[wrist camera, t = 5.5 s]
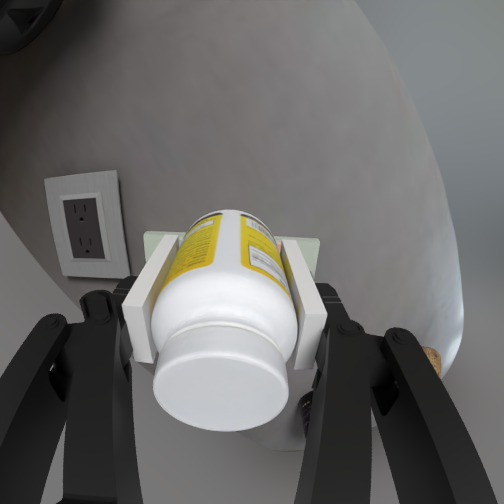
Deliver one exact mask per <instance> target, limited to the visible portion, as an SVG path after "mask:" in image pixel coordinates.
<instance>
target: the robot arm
mask: <svg viewBox="0 0 504 504" xmlns="http://www.w3.org/2000/svg"><path fill="white" fill-rule="evenodd" d="M61 1H62V0H0V54H11V53H14V52H16V51H18V50H20V49H22V48H23V47H24V46H26V45H27V44H28V43H30V42H31V41H32V40H33V39H34V38H35V37H36V36H37V35H38V34H39V33H40V32H41V31H42V30H43V28H44V27H45V26H46V25H47V24H48V22H49V21H50V19H51V18H52V17H53V15H54V14H55V12H56V10H57V9H58V7H59V5H60V3H61ZM178 249H179V235H164V237H163V238H162V240H161V241H160V243H159V244H158V246H157V247H156V249H155V251H154V252H153V254H152V255H151V257H150V259H149V260H148V262H147V263H146V265H145V267H144V268H143V270H142V271H141V273H140V275H139V276H127V277H126V278H124V279H123V280H121V281H120V282H119V284H118V285H117V287H116V289H115V290H114V291H113V294H112V293H111V292H109V291H106V290H95V291H91V292H89V293H86V294H85V295H84V296H82V297H81V299H80V305H81V308H82V312H83V315H84V318H85V321H84V322H82V323H72V324H68V323H67V321H66V318H65V317H64V316H63V315H61V314H49V315H46V316H45V317H43V318H42V319H41V320H40V321H39V322H38V323H37V324H36V326H35V327H34V328H33V330H32V331H31V333H30V334H29V335H28V337H27V338H26V340H25V341H24V342H23V344H22V345H21V347H20V348H19V350H18V351H17V353H16V354H15V356H14V357H13V359H12V360H11V362H10V363H9V365H8V366H7V368H6V370H5V371H4V373H3V375H2V376H1V378H0V504H40V502H41V498H42V494H43V491H44V487H45V483H46V479H47V476H48V473H49V470H50V466H51V463H52V460H53V457H54V454H55V450H56V448H57V444H58V442H59V439H60V436H61V433H62V431H63V428H64V425H65V422H66V431H65V443H64V462H63V498H62V500H61V501H60V502H58V503H56V504H143V499H142V494H141V487H140V480H139V473H138V466H137V456H136V447H135V435H134V422H133V404H132V368H131V364H130V360H129V359H130V357H131V354H132V352H133V355H134V358H135V361H138V362H146V363H154V359H155V356H156V353H157V349H156V346H155V343H154V340H153V336H152V331H151V319H152V313H153V309H154V306H155V303H156V300H157V298H158V295H159V293H160V291H161V288H162V286H163V284H164V282H165V279H166V277H167V275H168V272H169V270H170V268H171V265H172V263H173V261H174V259H175V256H176V254H177V252H178ZM280 258H281V261H282V265H283V268H284V272H285V276H286V279H287V283H288V287H289V290H290V294H291V298H292V301H293V305H294V309H295V312H296V318H297V326H298V330H297V340H296V344H295V347H294V350H293V352H292V354H291V358H292V363H293V368H294V370H300V369H313V366H314V363H315V359H316V362H317V366H318V369H317V372H316V375H315V379H314V382H313V385H312V388H314V391H313V399H312V406H311V413H310V420H309V426H308V433H307V439H306V445H305V451H304V457H303V462H302V468H301V472H300V478H299V483H298V488H297V492H296V497H295V501H294V504H370V491H371V490H370V489H371V462H372V458H371V457H372V432H371V431H372V430H371V429H372V428H371V408H372V411H373V414H374V417H375V420H376V423H377V426H378V429H379V433H380V436H381V439H382V442H383V446H384V449H385V452H386V456H387V459H388V462H389V466H390V469H391V473H392V477H393V480H394V484H395V488H396V491H397V495H398V499H399V503H400V504H498V503H497V500H496V498H495V495H494V492H493V489H492V487H491V484H490V481H489V479H488V477H487V474H486V472H485V469H484V467H483V464H482V462H481V459H480V457H479V455H478V453H477V451H476V448H475V446H474V444H473V442H472V440H471V437H470V435H469V433H468V431H467V429H466V427H465V425H464V423H463V421H462V419H461V417H460V415H459V413H458V411H457V409H456V407H455V406H454V403H453V402H452V399H451V398H450V396H449V394H448V392H447V390H446V388H445V387H444V385H443V383H442V381H441V379H440V378H439V376H438V374H437V372H436V371H435V369H434V367H433V366H432V364H431V362H430V360H429V359H428V357H427V355H426V354H425V352H424V350H423V349H422V347H421V345H420V344H419V342H418V341H417V339H416V337H415V336H414V335H413V334H412V333H411V332H409V331H408V330H406V329H403V328H396V327H394V328H390V329H388V330H387V331H386V333H385V336H384V337H382V336H376V335H370V334H366V333H365V331H364V329H363V327H362V326H361V325H360V324H359V323H357V322H355V321H353V320H350V318H349V316H348V314H347V312H346V310H345V308H344V306H343V304H342V303H341V300H340V298H339V297H338V294H337V292H336V290H335V289H334V288H333V287H331V286H330V285H329V284H328V283H314V281H313V278H312V276H311V274H310V271H309V269H308V267H307V264H306V262H305V260H304V257H303V255H302V253H301V251H300V248H299V246H298V244H297V242H296V240H286V239H282V241H281V250H280ZM52 365H53V368H52V370H51V371H50V368H51V366H52Z"/></svg>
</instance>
